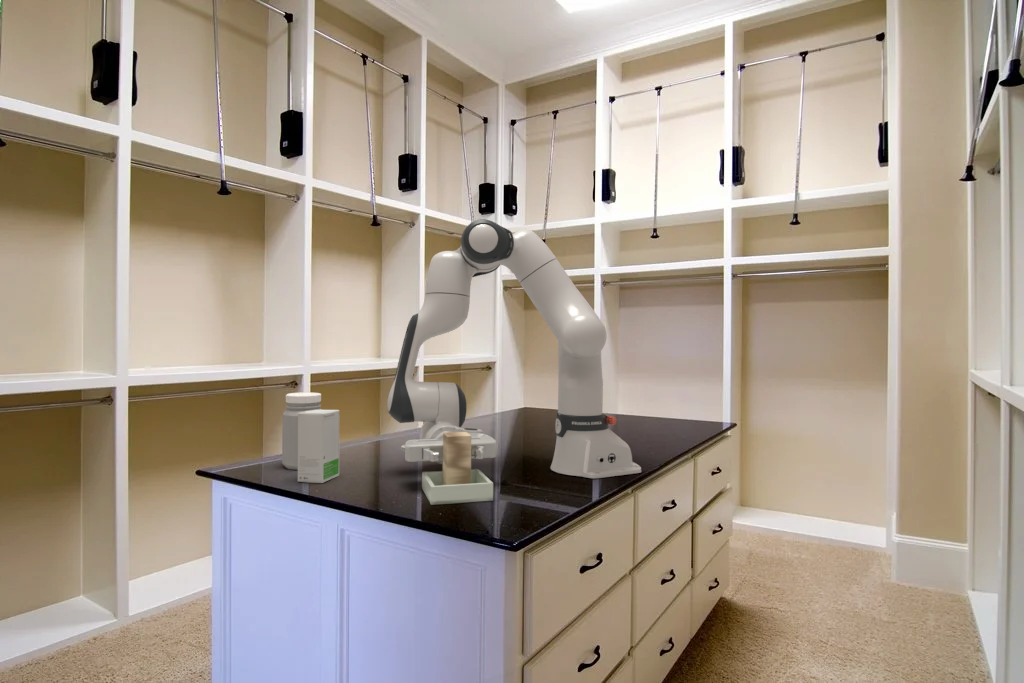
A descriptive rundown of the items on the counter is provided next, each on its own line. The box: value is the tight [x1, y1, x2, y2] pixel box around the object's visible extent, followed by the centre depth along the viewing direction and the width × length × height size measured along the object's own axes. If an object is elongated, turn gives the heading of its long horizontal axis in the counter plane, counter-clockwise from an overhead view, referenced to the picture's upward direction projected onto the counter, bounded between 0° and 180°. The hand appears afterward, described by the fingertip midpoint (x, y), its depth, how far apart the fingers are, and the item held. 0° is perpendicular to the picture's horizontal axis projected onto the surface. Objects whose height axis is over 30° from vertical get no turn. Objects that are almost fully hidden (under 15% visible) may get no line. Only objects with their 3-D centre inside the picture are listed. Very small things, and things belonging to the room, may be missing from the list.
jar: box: [281, 391, 323, 471], centre depth 145 cm, size 10×10×18 cm
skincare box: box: [297, 409, 340, 484], centre depth 133 cm, size 8×7×16 cm
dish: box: [421, 468, 494, 506], centre depth 122 cm, size 13×13×4 cm
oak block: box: [442, 432, 472, 485], centre depth 122 cm, size 5×5×12 cm
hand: (457, 456), depth 121 cm, fingers open, 8 cm apart
